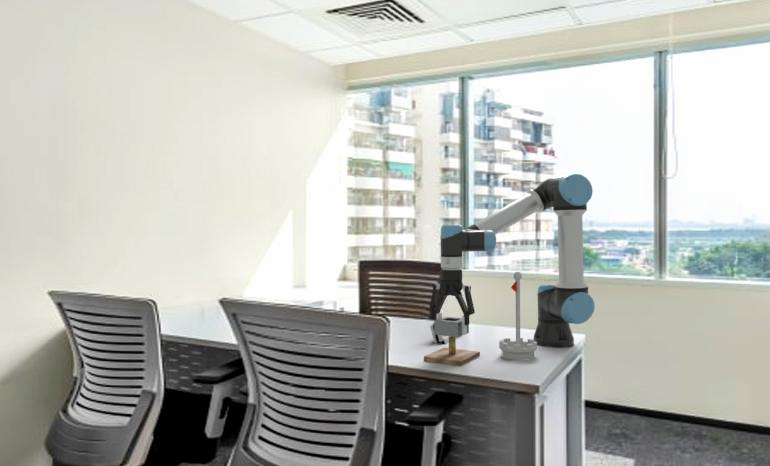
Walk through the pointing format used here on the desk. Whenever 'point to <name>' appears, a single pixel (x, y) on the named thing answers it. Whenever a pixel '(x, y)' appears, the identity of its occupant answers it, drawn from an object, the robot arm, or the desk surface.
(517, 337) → the flag stand
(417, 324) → the desk surface
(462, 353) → the wooden peg stand
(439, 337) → the hinge
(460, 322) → the grey hollow square block
